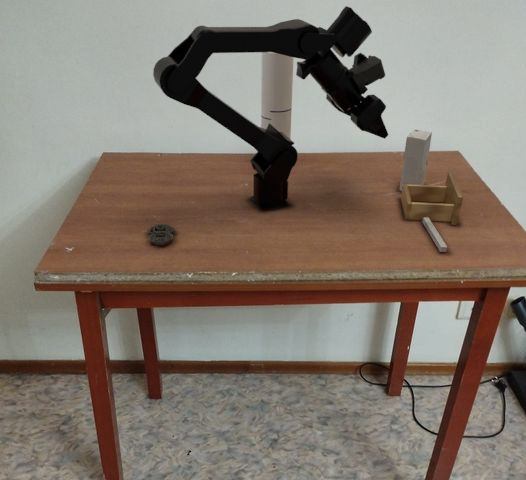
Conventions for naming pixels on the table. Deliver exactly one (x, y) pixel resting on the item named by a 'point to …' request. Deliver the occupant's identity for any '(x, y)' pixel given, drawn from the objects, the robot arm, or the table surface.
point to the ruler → (434, 234)
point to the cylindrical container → (277, 91)
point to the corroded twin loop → (160, 234)
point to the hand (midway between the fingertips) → (377, 129)
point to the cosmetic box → (415, 158)
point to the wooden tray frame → (433, 193)
